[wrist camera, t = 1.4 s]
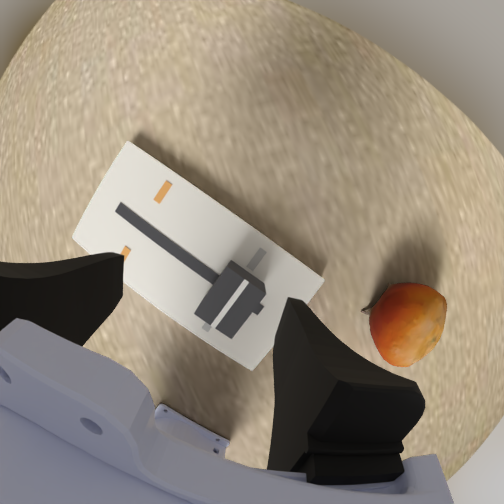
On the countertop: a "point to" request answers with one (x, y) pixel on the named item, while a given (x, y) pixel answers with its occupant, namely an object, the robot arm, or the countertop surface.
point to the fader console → (188, 251)
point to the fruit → (407, 322)
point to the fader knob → (231, 299)
